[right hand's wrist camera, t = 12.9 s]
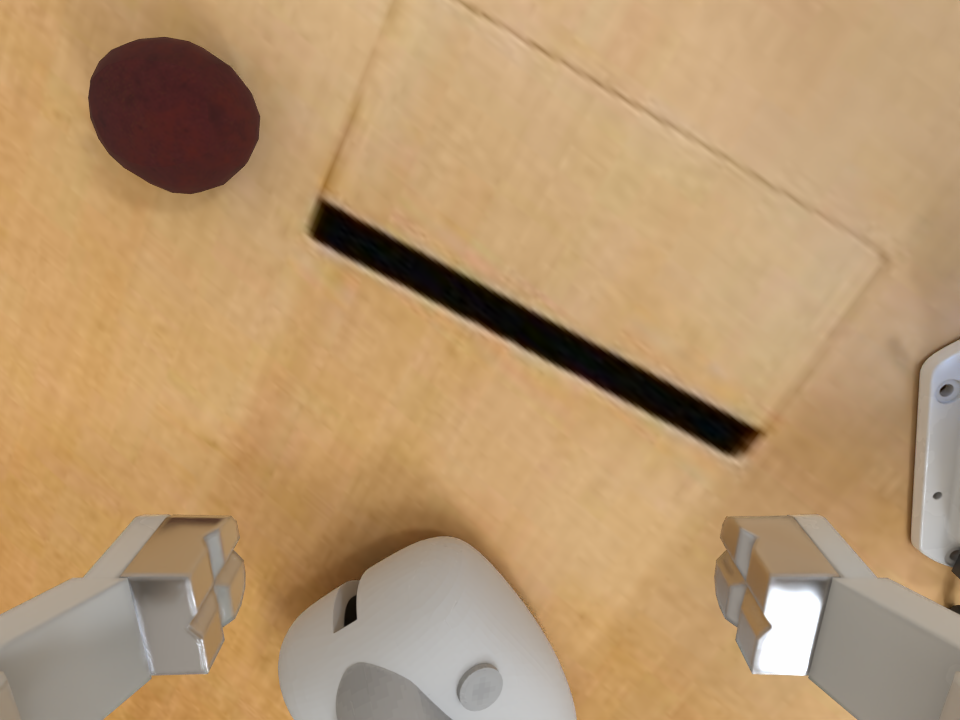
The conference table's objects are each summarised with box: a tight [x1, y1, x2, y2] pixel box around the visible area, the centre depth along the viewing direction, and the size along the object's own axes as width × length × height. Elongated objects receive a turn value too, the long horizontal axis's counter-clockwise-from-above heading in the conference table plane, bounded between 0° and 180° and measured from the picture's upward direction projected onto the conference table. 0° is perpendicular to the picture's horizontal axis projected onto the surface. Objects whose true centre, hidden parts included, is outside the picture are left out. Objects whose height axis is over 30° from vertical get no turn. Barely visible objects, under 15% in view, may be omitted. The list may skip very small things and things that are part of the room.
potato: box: [88, 37, 260, 194], centre depth 32 cm, size 7×8×7 cm
